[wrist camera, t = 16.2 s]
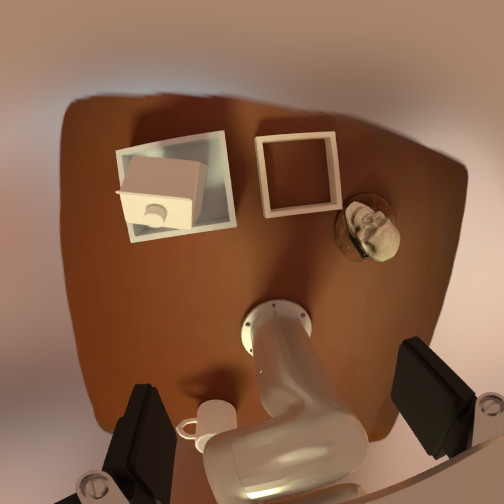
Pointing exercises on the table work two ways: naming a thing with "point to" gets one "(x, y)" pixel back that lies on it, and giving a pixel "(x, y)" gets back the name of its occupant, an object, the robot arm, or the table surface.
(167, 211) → the milk carton
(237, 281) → the table surface
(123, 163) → the tub
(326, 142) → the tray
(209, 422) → the mug
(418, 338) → the robot arm
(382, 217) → the skull
